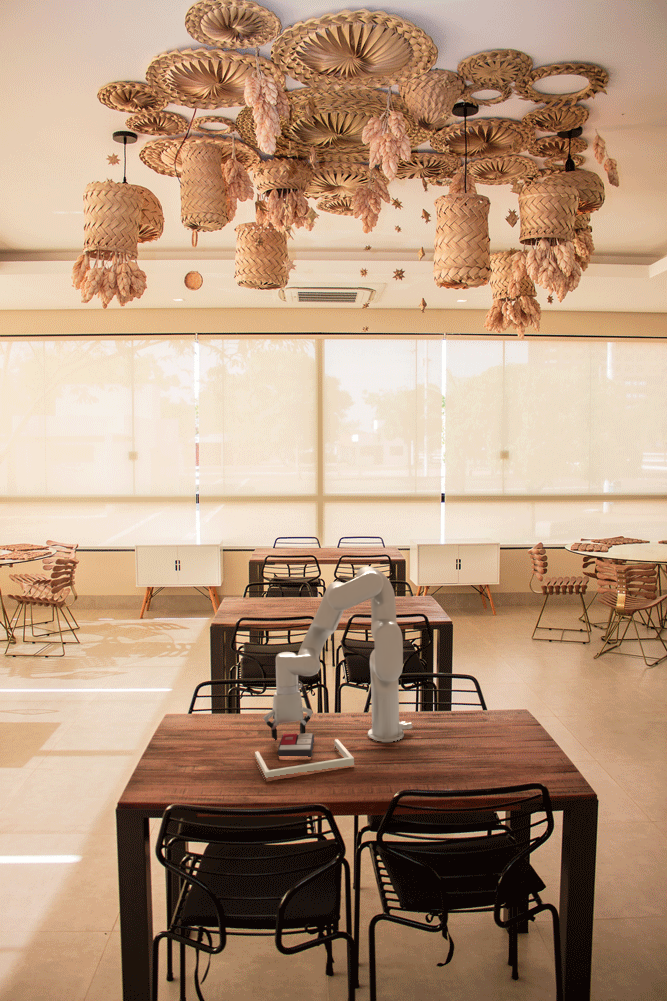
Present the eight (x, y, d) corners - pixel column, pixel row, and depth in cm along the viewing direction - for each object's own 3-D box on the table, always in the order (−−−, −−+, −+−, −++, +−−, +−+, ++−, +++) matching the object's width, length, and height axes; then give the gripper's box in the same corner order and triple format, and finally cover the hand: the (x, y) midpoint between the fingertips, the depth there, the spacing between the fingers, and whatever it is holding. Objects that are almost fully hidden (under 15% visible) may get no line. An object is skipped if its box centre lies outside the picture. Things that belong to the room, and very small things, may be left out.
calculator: (314, 732, 245) (311, 747, 230) (314, 744, 246) (311, 761, 231) (282, 732, 246) (277, 748, 231) (282, 745, 246) (277, 761, 231)
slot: (338, 747, 240) (337, 739, 239) (354, 767, 224) (353, 758, 224) (255, 760, 231) (254, 751, 231) (266, 782, 216) (265, 772, 215)
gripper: (308, 682, 251) (309, 730, 252) (260, 688, 246) (261, 736, 247) (314, 689, 244) (315, 737, 245) (265, 695, 239) (266, 745, 240)
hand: (288, 737), depth 246 cm, fingers open, 9 cm apart
